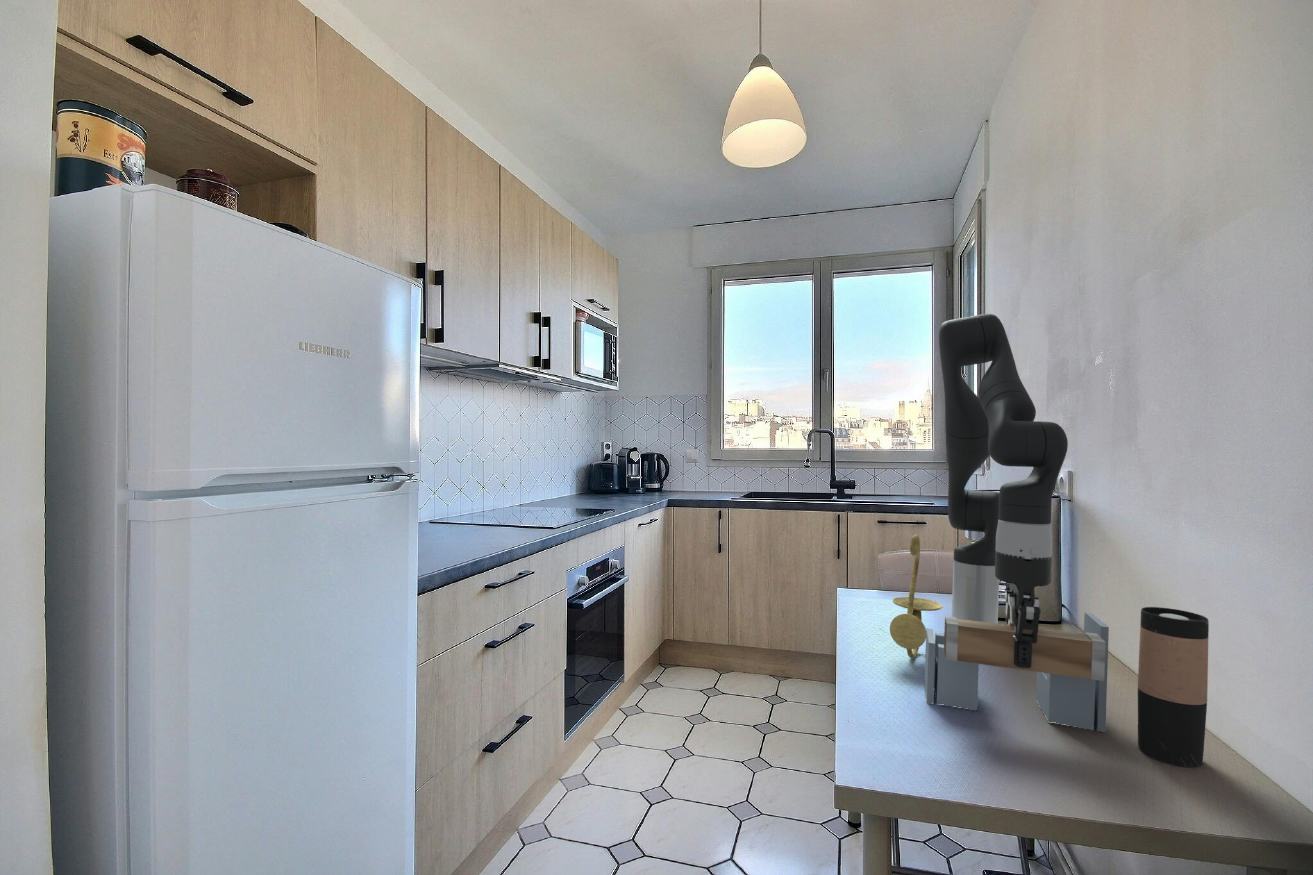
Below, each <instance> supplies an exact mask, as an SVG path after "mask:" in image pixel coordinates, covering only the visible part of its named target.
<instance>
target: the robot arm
mask: <svg viewBox="0 0 1313 875" xmlns="http://www.w3.org/2000/svg"><path fill="white" fill-rule="evenodd" d="M938 346H939V347H938V348H939V356H940V363H941V373H942V379H943V389H944V426H945V427H944V429H945V444H946V456H947V465H948V468H947V469H948V489H947V490H948V492H947V493H948V494H947V514H948V515H947V516H948V521H949V524H950V526H951V527H952V528H953V529H954V530H955V529H956V530H958V531H967V532H978V533H983V534H984V536H983V537H982V538H980V539H979V540H977V541H975V542H971V543H968V544H967V543H966V544H962V545H958V546H956V547H955V548H954V550H953V564H952V565H953V567H952V569H953V570H952V594H951V595H952V600H951V603H952V604H951V617H956V619H962V620H970V621H979V622H988V623H996V624H999V620H998V619H999V596H1000V595H999V594H1000V582H1004V583H1005V584H1009V586H1005V588H1004V592H1005V595H1004V598H1005V623H1006V625H1013V626H1014V637H1013V638H1014V641H1015V643H1014V664H1015V665H1016V666H1017V667H1022V668H1030V667H1031V660H1032V644H1034V643H1036V642H1037V634H1038V628H1039V626H1040V615H1041V612H1042V611H1041V608H1040V600H1039V598H1040V597H1038V596H1036V593H1035V592H1036V591H1035V588H1036V587H1047V586H1049V585H1050V584H1051V583H1052V561H1053V560H1052V559H1053V534H1052V524H1051V523H1052V506H1053V504H1052V503H1053V502H1052V500H1053V494H1054V492H1055V487H1056V484H1057V481H1058V477H1059V475H1060V472H1061V469H1062V468H1063V464H1064V461H1065V459H1066V457H1067V453H1068V447H1069V446H1068V444H1069V440H1068V438H1067V433H1066V432H1065V429H1064V428H1063V427H1062V426H1061V425H1059V424H1058V423H1055V422H1052V421H1039V420H1038V421H1034V420H1035V419H1036V416H1037V415H1036V414H1037V411H1036V410H1037V408H1036V406H1035V404H1034V402H1033V400H1032V399H1031V397H1030V395H1029V393H1028V391H1027V389H1026V388H1025V386H1024V384H1023V382H1022V380H1021V378H1020V375H1019V373H1018V369H1017V365H1016V361H1015V358H1014V354H1013V352H1012V348H1011V344H1010V340H1009V338H1008V335H1007V333H1006V330H1005V327H1004V325H1003V323H1002V321H1001V320H1000V318H999V316H996V315H995V314H992V313H982V314H978V315H972V316H966V317H959V318H955V319H950V320H946V321H944V322H942V323H941V325H940V327H939V332H938ZM986 363H990V365H989V366H988V368H987V370H986V371H985V373H984V374H983V376H982V378H981V380H980V382H979V385H978V390H977V393H978V394H976V393H975V392H974V391H973V390H972V389H971V388H970V386H969V384H967V382H966V380H965V379H964V377H963V376H962V372H961V370H962V367H965V366H966V367H967V366H973V365H979V364H986ZM989 457H990V458H991V459H992V460H993V461H994V462H995V463H997V464H999V465H1001V466H1004V467H1017V468H1018V467H1020V468H1021V467H1024V468H1029V467H1030V468H1032V470H1031V472H1030V474H1029V475H1028V476H1027V477H1026V478H1025V479H1022V480H1017V481H1010V482H1006V483H1003V484H1002V485H1001V486H1000V489H999V492H997V491H990V490H978V489H977V490H974V489H965V488H966V486H967V484H968V481H969V480H970V479H971V477H972V476H973V475H974V473H975V472H976V471H977V470H978V469H979V468H981V466H982V465H983V464H984V463H985V462H986V461H987V460H988V458H989ZM1023 629H1028V630H1029V634H1025V633H1022V630H1023Z"/></svg>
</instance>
